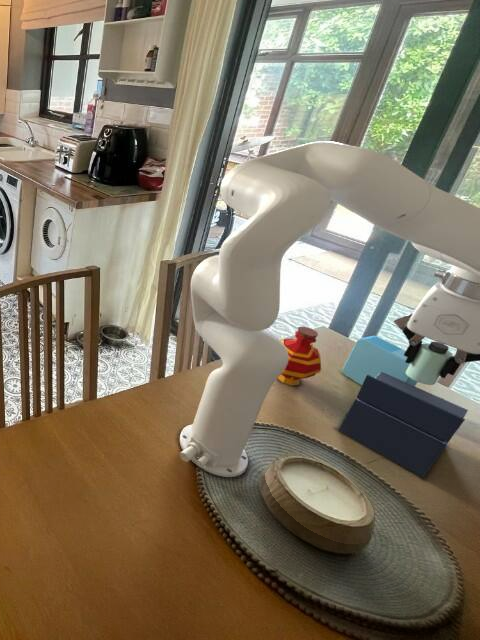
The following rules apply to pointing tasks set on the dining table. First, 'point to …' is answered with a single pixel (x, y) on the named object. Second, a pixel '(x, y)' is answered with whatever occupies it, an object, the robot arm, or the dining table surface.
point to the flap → (410, 408)
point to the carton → (397, 430)
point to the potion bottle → (301, 357)
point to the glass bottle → (429, 363)
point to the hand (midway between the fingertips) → (426, 366)
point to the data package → (376, 360)
